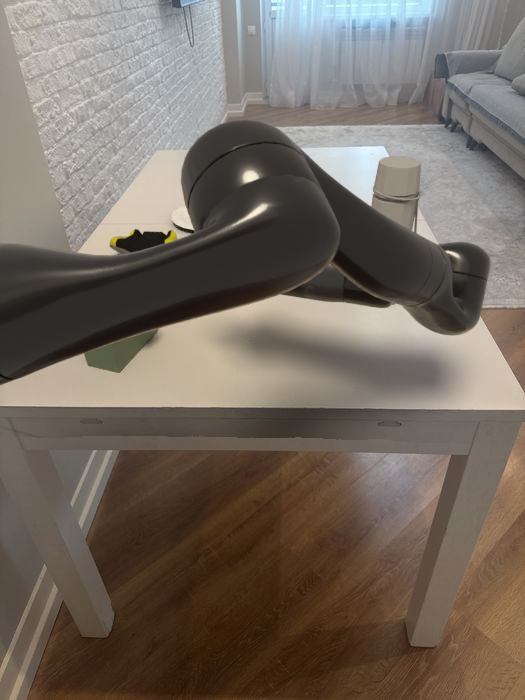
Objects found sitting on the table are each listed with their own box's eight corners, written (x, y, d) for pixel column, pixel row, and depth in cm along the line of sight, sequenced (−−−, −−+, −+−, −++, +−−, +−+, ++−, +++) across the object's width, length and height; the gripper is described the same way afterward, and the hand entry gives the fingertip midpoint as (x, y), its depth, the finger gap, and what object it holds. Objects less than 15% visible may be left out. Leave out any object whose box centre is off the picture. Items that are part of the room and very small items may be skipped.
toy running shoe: (177, 266, 106) (188, 245, 113) (173, 242, 102) (185, 223, 110) (110, 263, 107) (126, 244, 115) (105, 240, 104) (121, 221, 112)
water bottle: (370, 310, 89) (387, 171, 74) (354, 289, 95) (368, 156, 80) (417, 303, 91) (443, 165, 76) (399, 283, 97) (420, 151, 82)
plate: (215, 243, 114) (215, 236, 113) (154, 223, 124) (153, 217, 123) (269, 214, 127) (269, 208, 126) (209, 198, 137) (209, 192, 136)
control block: (157, 331, 86) (145, 270, 79) (119, 373, 77) (101, 308, 70) (128, 325, 88) (113, 265, 81) (87, 365, 79) (67, 302, 72)
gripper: (328, 220, 64) (207, 207, 69) (299, 266, 54) (161, 246, 59) (325, 271, 68) (212, 255, 73) (298, 322, 59) (170, 300, 64)
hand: (190, 251), depth 66 cm, fingers closed
